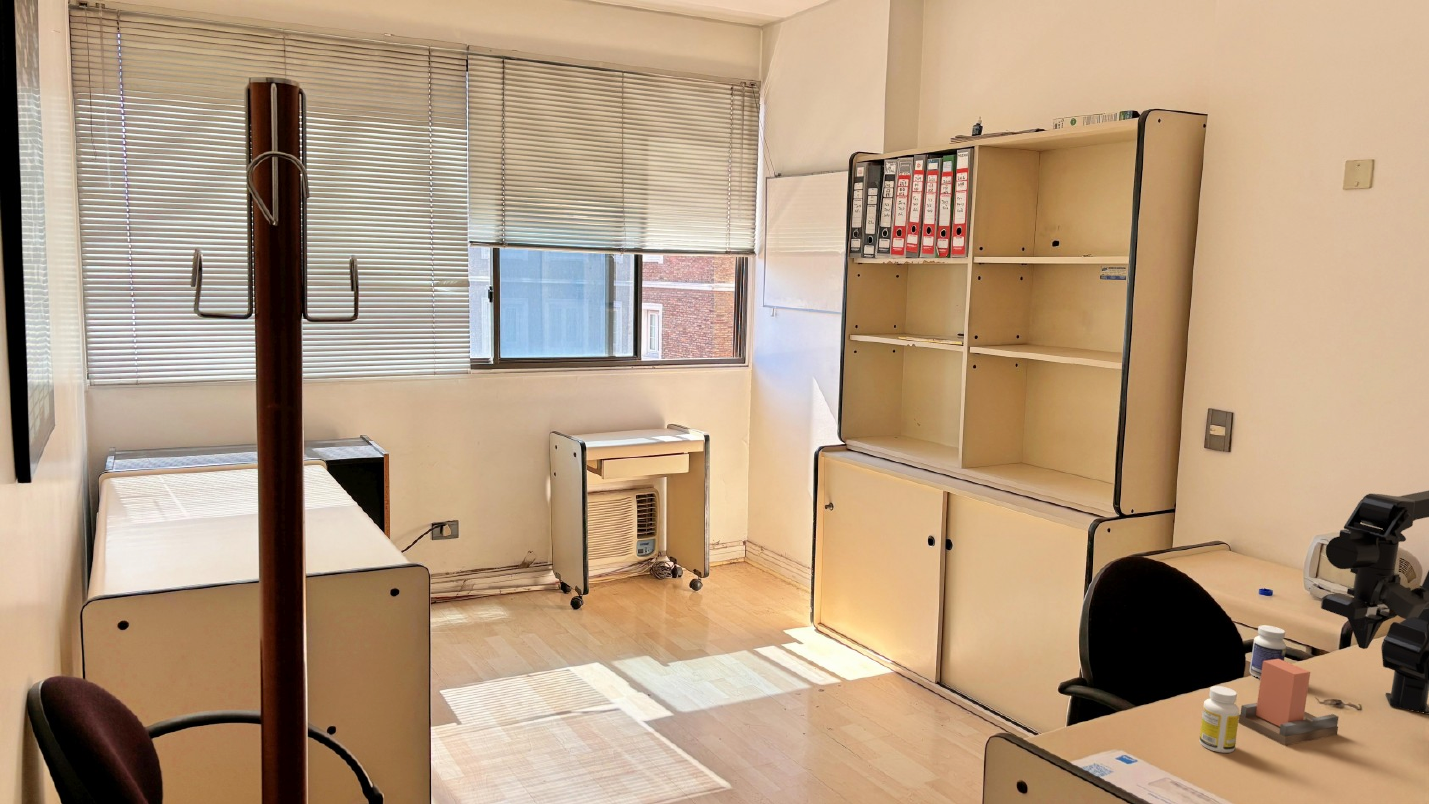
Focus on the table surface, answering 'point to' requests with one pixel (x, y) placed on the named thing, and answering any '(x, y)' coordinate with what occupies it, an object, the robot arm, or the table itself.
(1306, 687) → the pink upright rectangular block
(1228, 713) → the supplement bottle
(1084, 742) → the table surface
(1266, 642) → the pill bottle
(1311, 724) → the rail housing
